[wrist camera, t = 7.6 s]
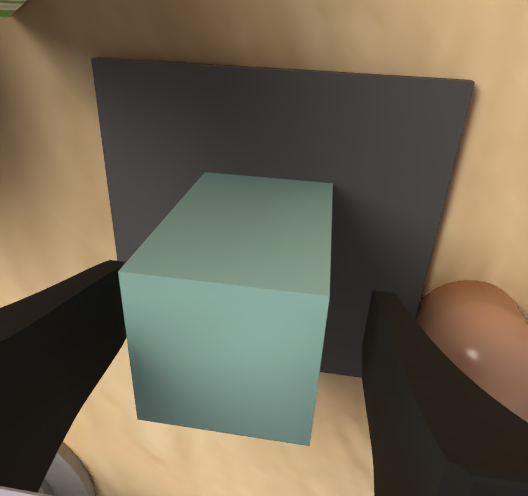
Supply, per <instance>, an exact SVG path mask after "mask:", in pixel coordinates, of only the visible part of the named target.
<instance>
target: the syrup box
mask: <svg viewBox="0 0 528 496" xmlns="http://www.w3.org/2000/svg"><path fill="white" fill-rule="evenodd" d="M26 1H27V0H0V17H10V16H11V15H12V13H14V12H15V11H16V10H17V9H18V8H19V7H21V6H22V5H23V4H24V3H25V2H26Z"/></svg>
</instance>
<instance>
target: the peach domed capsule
mask: <svg viewBox="0 0 528 496" xmlns="http://www.w3.org/2000/svg"><path fill="white" fill-rule="evenodd" d="M415 320H416V322H417V323H418V324H419V325H420V327H421V328H422V329H423V330H424V331H425V333H426V334H427V335H428V336H429V337H430V339H431V340H432V341H433V342H434V343H435V344H436V345H437V347H438V348H439V349H440V350H441V351H442V352H443V353H444V354H445V355H446V356H447V357H448V358H449V359H450V360H451V361H452V362H453V363H454V364H455V365H456V366H457V367H458V368H459V369H460V370H461V371H462V372H464V373H465V374H466V375H467V376H468V377H469V378H470V379H471V380H473V381H474V382H475V383H476V384H477V385H478V386H479V387H481V388H482V389H483V390H484V391H486V392H487V393H488V394H489V395H490V396H492V397H493V398H494V399H496V400H497V401H498V402H500V403H501V404H502V405H504V406H505V407H506V408H508V409H509V410H510V411H512V412H513V413H515V414H516V415H517V416H519V417H520V418H522V419H523V420H525V421H526V422H528V324H527V322H526V320H525V319H524V317H523V316H522V314H521V312H520V311H519V309H518V308H517V306H516V304H515V303H514V301H513V300H512V298H511V297H510V296H509V295H508V294H507V293H506V292H504V291H503V290H502V289H500V288H498V287H496V286H494V285H492V284H489V283H485V282H480V281H458V282H453V283H449V284H446V285H443V286H441V287H439V288H437V289H435V290H433V291H432V292H430V293H429V294H427V295H426V296H425V297H424V298H423V299H422V300H421V301H420V302H419V306H418V310H417V314H416V318H415Z"/></svg>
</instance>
